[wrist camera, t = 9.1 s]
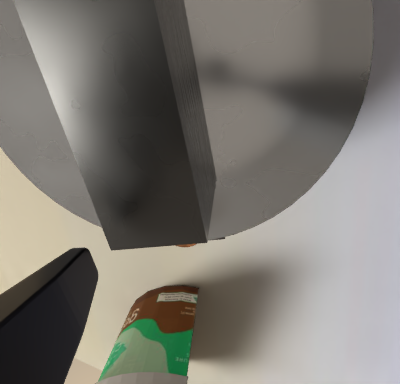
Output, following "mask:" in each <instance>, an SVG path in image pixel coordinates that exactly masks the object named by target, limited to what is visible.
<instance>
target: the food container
mask: <svg viewBox="0 0 400 384" xmlns="http://www.w3.org/2000/svg"><path fill="white" fill-rule="evenodd" d="M198 290H199V288H196V287H190V286H164V287H161V288H157V289H154V290H151V291H148V292H146V293H145V294H144V295H142V296H141V297H139V298H138V299H137V300H136V301H135V303H134V304H133V306H132V307H131V309H130V312H129V314H128V316H127V318H126V321H125V323H124V325H123V327H122V329H121V332H120V334H119V336H118V338H117V341H116V343H115V345H114V347H113V349H112V352H111V354H110V356H109V358H108V361H107V363H106V365H105V367H104V369H103V372H102V374H101V376H100V378H99V381H98V382H97V383H95V384H187V380H188V376H187V372H188V364H189V357H190V349H191V342H192V335H193V327H194V320H195V312H196V305H197V298H198Z"/></svg>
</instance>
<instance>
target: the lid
mask: <svg viewBox="0 0 400 384" xmlns="http://www.w3.org/2000/svg"><path fill="white" fill-rule="evenodd" d="M373 43H374V40H373V6H372V0H0V147H1V148H2V150H3V151H4V152H5V154H6V155H7V156H8V157H9V159H10V160H11V161H12V162H13V163H14V164H15V165H16V167H17V168H18V169H19V170H20V171H21V172H22V173H23V174H24V175H25V176H26V177H27V178H28V179H29V180H30V181H31V182H32V183H33V184H34V185H35V186H36V187H37V188H38V189H40V190H41V191H42V192H43V193H45V194H46V195H47V196H49V197H50V198H51V199H52V200H54V201H55V202H56V203H58V204H59V205H61V206H62V207H64V208H66V209H67V210H69V211H70V212H72V213H73V214H75V215H77V216H79V217H81V218H83V219H85V220H87V221H89V222H90V223H92V224H95V225H97V226H100V227H102V228H103V231H104V234H105V236H106V239H107V241H108V244H109V246H110V249H111V250H122V249H135V248H147V247H159V246H172V245H176V246H179V247H190V246H194V245H196V244H197V243H207V242H208V240H214V239H218V238H222V237H226V236H230V235H234V234H237V233H239V232H242V231H245V230H247V229H250V228H253V227H255V226H257V225H259V224H261V223H263V222H265V221H267V220H269V219H271V218H273V217H274V216H276V215H277V214H279V213H280V212H282V211H283V210H285V209H286V208H288V207H289V206H291V205H292V204H293V203H294V202H296V201H297V200H298V199H299V198H300V197H301V196H303V195H304V194H305V193H306V192H307V191H308V190H309V189H310V188H311V187H312V186H313V185H314V184H315V183H316V182H317V181H318V180H319V179H320V177H321V176H322V175H323V174H324V173H325V172H326V171H327V169H328V168H329V166H330V165H331V164H332V162H333V161H334V159H335V158H336V157H337V155H338V154H339V152H340V151H341V149H342V147H343V145H344V143H345V141H346V140H347V138H348V136H349V134H350V132H351V130H352V128H353V126H354V123H355V121H356V118H357V116H358V113H359V111H360V108H361V105H362V103H363V99H364V95H365V91H366V87H367V83H368V79H369V75H370V69H371V60H372V51H373Z"/></svg>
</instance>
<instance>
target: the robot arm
mask: <svg viewBox="0 0 400 384" xmlns="http://www.w3.org/2000/svg"><path fill="white" fill-rule="evenodd" d="M97 282H98V271H97V268H96V266H95V263H94V261H93V258H92V256H91V253H90V251H89V250H88V249H87V248H72V249H70V250H68V251H67V252H65V253H64V254H62V255H61V256H59V257H57V258H56V259H54V260H53V261H51V262H50V263H48V264H47V265H45V266H44V267H42V268H41V269H39V270H38V271H36V272H34V273H33V274H31V275H30V276H28V277H27V278H25V279H24V280H22V281H21V282H19V283H18V284H16V285H14V286H13V287H11V288H10V289H8V290H7V291H5V292H4V293H2V294H1V295H0V384H64V382H65V379H66V376H67V374H68V371H69V368H70V366H71V364H72V361H73V359H74V356H75V353H76V351H77V348H78V346H79V343H80V340H81V338H82V335H83V332H84V329H85V325H86V322H87V318H88V315H89V311H90V307H91V304H92V300H93V296H94V293H95V289H96V285H97Z"/></svg>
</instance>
